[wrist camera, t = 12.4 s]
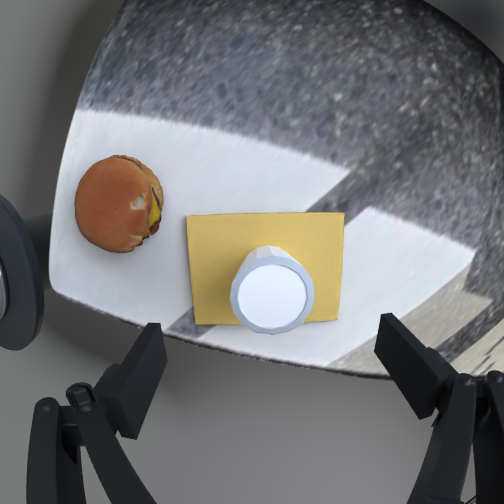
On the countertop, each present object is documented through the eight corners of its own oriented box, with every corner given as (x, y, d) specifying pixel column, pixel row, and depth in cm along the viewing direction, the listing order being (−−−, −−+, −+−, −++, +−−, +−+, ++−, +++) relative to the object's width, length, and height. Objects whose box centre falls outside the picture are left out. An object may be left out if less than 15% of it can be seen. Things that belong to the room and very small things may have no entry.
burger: (79, 181, 27) (55, 182, 22) (146, 143, 26) (128, 136, 22) (109, 260, 29) (89, 271, 24) (179, 229, 28) (166, 237, 24)
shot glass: (225, 289, 29) (217, 319, 22) (249, 229, 28) (248, 242, 21) (284, 311, 30) (293, 345, 23) (311, 254, 28) (329, 274, 22)
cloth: (196, 322, 31) (195, 324, 30) (187, 215, 28) (186, 216, 28) (336, 318, 31) (337, 319, 30) (343, 212, 28) (344, 213, 28)
